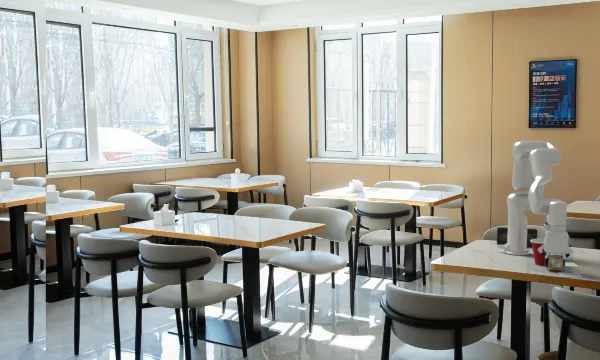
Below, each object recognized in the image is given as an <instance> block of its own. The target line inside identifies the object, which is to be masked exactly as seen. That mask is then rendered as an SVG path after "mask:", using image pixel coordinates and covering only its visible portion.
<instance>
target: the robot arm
mask: <svg viewBox="0 0 600 360" xmlns="http://www.w3.org/2000/svg"><path fill="white" fill-rule="evenodd" d="M511 153H512V154H511V155H512V159H513V168H512V178H511V186H512V188H513V190H516V192H512V193H510V194H509V195H508V196H507V197H506V206H507V214H508V215H507V216H508V217H507V228H508V239H507V243H506V244H504V245H497V249H500V250H503V253H504V254H507V255H512V256H513V255H514V256H527V255H530V251H529V250H527V247H526V245H527V229H528V217H527V215H525V213H524V212H532V213H533V214H535V215H540V216H541V215H545V216H546V215H548V222H547V224H545V225H544V229H547V230H546V231H545V234H544V244H543V245H542V246H541V247H539V248H538V251H539V252H540V253H541V254H542V255H543V256H544V257H545V261H544V264H545V265H546V266H545V267H546V268H547V267H548V261H549V259H548V256H549V254H550V253H551V254H557V255H562V257H563V269H564V267H566V266H565V262H566V260H567V258H568V257H570V256H571V255H573V254H574V250H573V249H572V248H571V247H570V246H569V234H568V231H566V229H567V227H566V226H567V211H568V209H567V208H568V205H567V202H565V201H563V200H561V199H559V198H547V197H546V198H545V197H544V193H545V192H544V191H545V185H546V184H548V183H550V182H551V181H553V179H554V175H553V172H552V171H553V170H552V168H551V167H554V166H559V165H560V164H561V160H562V156H561V155H562V154H561V152H560V150H559V149H558V148H557V147H556V146H555V145H553V144H552V143H550V142H549V141H547V140H519V141H516V142H515V143H514V144H513V147H512V152H511ZM517 191H528V192H517ZM543 248H544V250H545V253H544V252H543V251H542V249H543Z"/></svg>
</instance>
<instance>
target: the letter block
mask: <svg viewBox="0 0 600 360" xmlns="http://www.w3.org/2000/svg"><path fill="white" fill-rule="evenodd" d="M548 259H549V261H548V267H546V268H547V270H549V271H563V270H564V268H563V257H562V255H561V254H556V253H551V254H549V256H548Z"/></svg>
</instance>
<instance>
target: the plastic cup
mask: <svg viewBox="0 0 600 360" xmlns="http://www.w3.org/2000/svg"><path fill="white" fill-rule="evenodd" d="M544 238H545V237H544ZM544 238H543V237H542V238H540V237H539V238H538V237H537V239H532V240H530V242H531V244H532V247H531V248H532V253H533V259H534V264H535V265H536V266H545V267H546V265H545V264H544V261H545V257H544V256H543V255H542V254H541V253H540V252H539V251H538V248H539V247H541V246H542V245H543V244H544ZM542 251H543V252H544V253H545V250H544V248H543V249H542ZM550 254H552V253H550Z"/></svg>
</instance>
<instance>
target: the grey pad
mask: <svg viewBox="0 0 600 360" xmlns="http://www.w3.org/2000/svg"><path fill="white" fill-rule="evenodd" d="M557 274H558V275H559V276H560V277H561V278H570V279H572V278H573V279H574V278H575V279H584V277H583V276H582V275H581V274H580V272H559V271H558V272H557Z"/></svg>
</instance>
